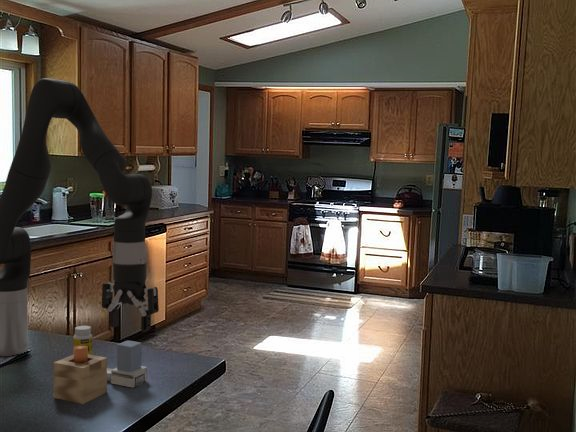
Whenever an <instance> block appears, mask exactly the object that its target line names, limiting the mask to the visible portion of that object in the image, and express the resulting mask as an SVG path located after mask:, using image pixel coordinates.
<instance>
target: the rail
mask: <svg viewBox="0 0 576 432" xmlns="http://www.w3.org/2000/svg"><path fill="white" fill-rule="evenodd" d="M112 369H113V368H109V367H107V383H111V370H112ZM144 382H145V381H144V375H140V376H138V377H136V378H135V388H137V387H139V386H140V385H143V384H144Z"/></svg>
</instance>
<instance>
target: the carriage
mask: <svg viewBox="0 0 576 432" xmlns="http://www.w3.org/2000/svg"><path fill="white" fill-rule="evenodd" d="M142 344H143V343H142V342H139V341H134V340H125V341H123V342H120V343H118V344H116V367H115V368H111V369H112V370H111V382H110V383H111V384H112V385H113V384H114V385H117V386H124V387H129V388H134V387H135V378H136V377H138V376H140V375H144V382H146V381H147V380H148V367H147V366H143V365H142V350H143V349H142V346H143V345H142ZM135 388H136V387H135Z"/></svg>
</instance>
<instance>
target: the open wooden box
mask: <svg viewBox="0 0 576 432" xmlns="http://www.w3.org/2000/svg"><path fill="white" fill-rule="evenodd" d="M107 368H108V357H106V356H105V357H104V356H100V355H93V354H92V355H90V354H88V361H87V362H84V363H75V362H74V355H73V354H71V355H68V356H66V357H64V358H62V359H59V360H57V361H54V362H53V398H54V399H58V400H63V401H67V402H71V403H76V404H81V405H85V404H87V403H89V402H90V401H92V400H94V399H97V398H98V397H100V396H102V395H104V394H106V393H107V392H108V381H107Z"/></svg>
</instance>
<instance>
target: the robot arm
mask: <svg viewBox="0 0 576 432" xmlns="http://www.w3.org/2000/svg"><path fill="white" fill-rule="evenodd" d="M25 112H26V113H25V118H24V122H23V126H22V131H21V134H20V138H19V140H18V144H17V148H16V151H15V154H14V156H13V159H12V162H11V163H10V166H9V170H8V173H7V177H6V180H5V183H4V187H3V189H2V192H1V194H0V265H3V267H2V269H1V270H0V357H12V355H14V356H17V355H16V354H19V355H22V354H24V352H25V353H26V352H28V350H29V321H28V320H29V318H28V317H29V316H28V315H29V314H28V313H29V312H28V306H29V304H28V301H29V300H28V297H29V296H28V282H29V278H30V275H31V265H32V263H31V261H32V243H31V238H30V235H29V233H28V232H27V231H26V229H24V228H22V227H21V226H17V224H18V222H19V220H20V219H21V217H22V216H24V214H25V213H26V212H28V210H29V209H30V208H31V207H32V206H33V205H34V204H35V203H36V202H37V201H38V199H39V198H40V197H41V195H42V194H43V192H44V190H45V189H46V186H47V182H48V179H49V177H50V173H51V171H52V168H51V166H52V164H51V158H50V154H49V151H48V146H47V141H46V140H47V133H48V130H49V126H50V123H51V121H52V119H53V118H54V119H66V120H67V121H69V123H71V124H72V125H73V126H74V128H75V129H76V130H77V132H78V133H79V134H78V135H79V139H80V140H79V141H80V148H81V152H82V154H83V156H84V157H85V159H86V160H87V161H88V163H89V164H90V166H91V167H92V168H93V170H94V171H95V172H96V173H97V175H98V177H99V180H100V183H101V186H102V188H103V191H104V194H105V195H106V197H107V198H108V200H109V201H110V202H112V203H113V204H115V205H117V206H126V207H125V208H126V209H125V211H124V213H123V214H121V215H118V216H117V217H116V218H115V219H114V222H113V230H114V231H113V233H114V234H113V248H112V249H113V250H112V279H113V281H114V283H113V282H112V281H108V282H104V283H103V284H102V288H101V290H102V292H101V307H102V309H107V311H108V314H109V315H108V317H109V319H108V320H109V322H108V323H109V325H110V327H111V328H117V327H119V325H120V310H119V308H120V306H121V305H122V304H128V305H130V306H131V305H133V306H135V308H136V310H137V309H138V310H139V312H140V313H141V314H140V315H141V317H140V319H141V320H140V325H141V326H140V330H141V332H143V333H146V332H148V331H149V330H150V329H151V327H152V320H151V319H152V315H154V314H156V313H157V314H158V313H159V312H160V307H159V305H160V304H159V290H158V287H157V286H153V287H147V285H146V280H147V246H146V245H147V244H146V222H147V218H148V215H149V210H150V207H151V203H152V198H153V186H152V183H151V181H150V179H149V178H148V177H147V176H146V175H144V174H141V173H130V174H129V173H127V174H125V173H123V172H124V170H125V169H126V166H127V163H126V160H125V158H124V156H123V155H122V153H121V152H120V150H118V148H117V146H115V144H114V143H113V142H112V141H111V140H110V139H109V137H108V136H107V134H106V133H105V131H104V129H103V128H102V126H101V125H100V123H99V121H98V120H97V117H96V116H95V113H94V112H93V110H92V108H91V106H90V105H89V103H88V101H87V99H86V97H85V95H84V94H83V92H82V91H81V89H80V87H79V86H78V85H77V84H75V83H73V82H71V81H67V80H60V79H54V78H49V77H48V78H47V77H46V78H45V77H44V78H40V79H39V80H37V81H36V83H34V85H33V87H32V89H31V92H30V96H29V99H28V103H27V107H26V111H25ZM113 294H115V296H114V295H113ZM21 353H22V354H21Z"/></svg>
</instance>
